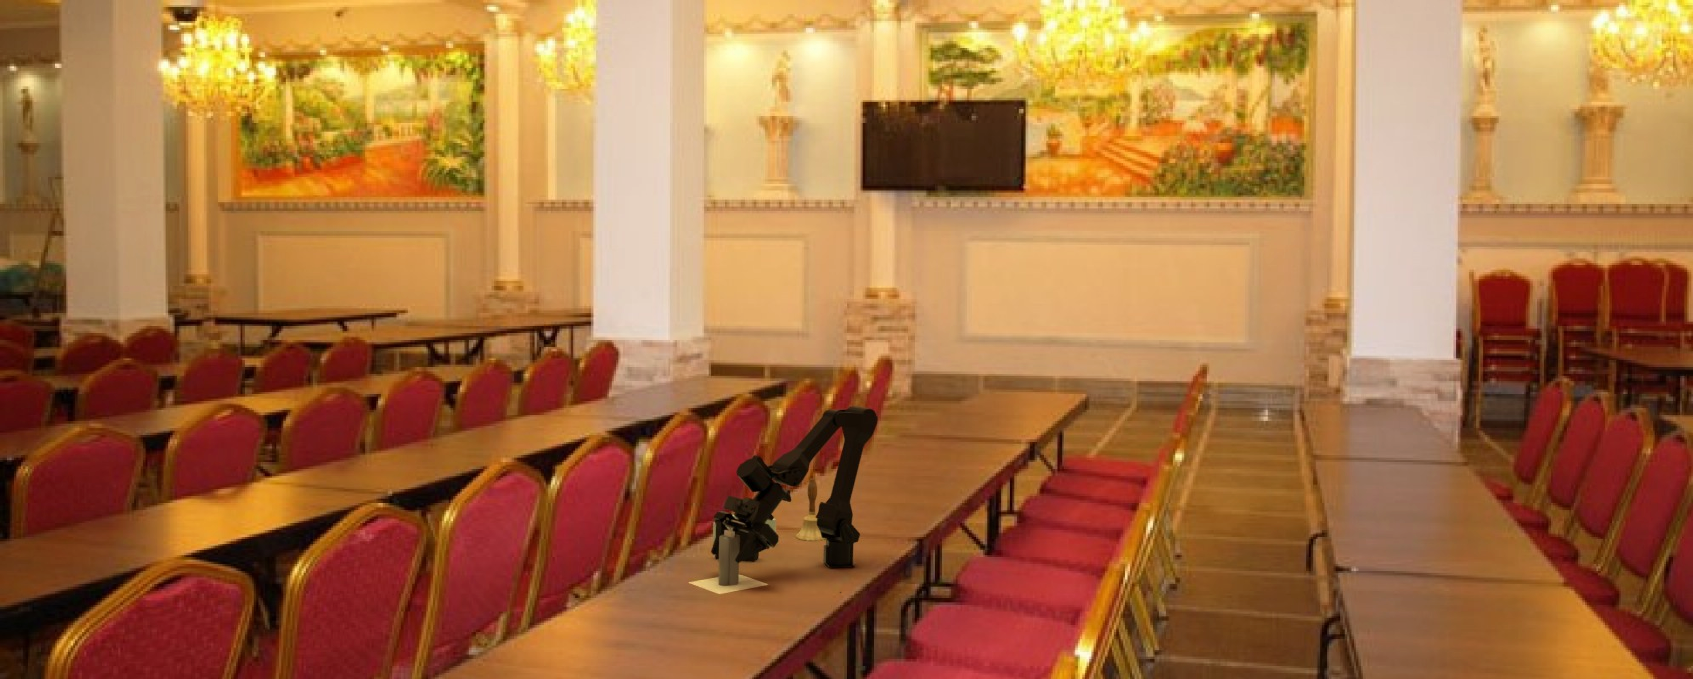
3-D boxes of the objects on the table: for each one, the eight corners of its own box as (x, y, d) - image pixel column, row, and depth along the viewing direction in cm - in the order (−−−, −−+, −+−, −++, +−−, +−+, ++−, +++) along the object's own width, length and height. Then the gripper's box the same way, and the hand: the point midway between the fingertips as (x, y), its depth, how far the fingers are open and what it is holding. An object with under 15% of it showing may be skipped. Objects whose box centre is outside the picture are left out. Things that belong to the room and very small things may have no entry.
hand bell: (826, 541, 355) (828, 481, 354) (794, 540, 355) (796, 480, 354) (827, 534, 363) (829, 476, 362) (796, 533, 364) (798, 475, 362)
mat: (737, 575, 318) (737, 573, 317) (768, 586, 309) (768, 584, 309) (688, 584, 308) (688, 582, 308) (719, 596, 299) (719, 593, 299)
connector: (731, 579, 312) (733, 527, 311) (742, 583, 309) (743, 531, 308) (714, 583, 308) (715, 530, 307) (724, 586, 305) (726, 533, 304)
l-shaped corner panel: (712, 551, 342) (713, 522, 342) (734, 542, 353) (734, 514, 353) (755, 557, 338) (755, 527, 337) (775, 547, 349) (776, 518, 348)
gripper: (720, 476, 316) (680, 528, 310) (770, 489, 302) (729, 544, 296) (746, 505, 322) (707, 557, 316) (796, 519, 308) (756, 574, 302)
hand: (724, 557), depth 307 cm, fingers open, 9 cm apart
